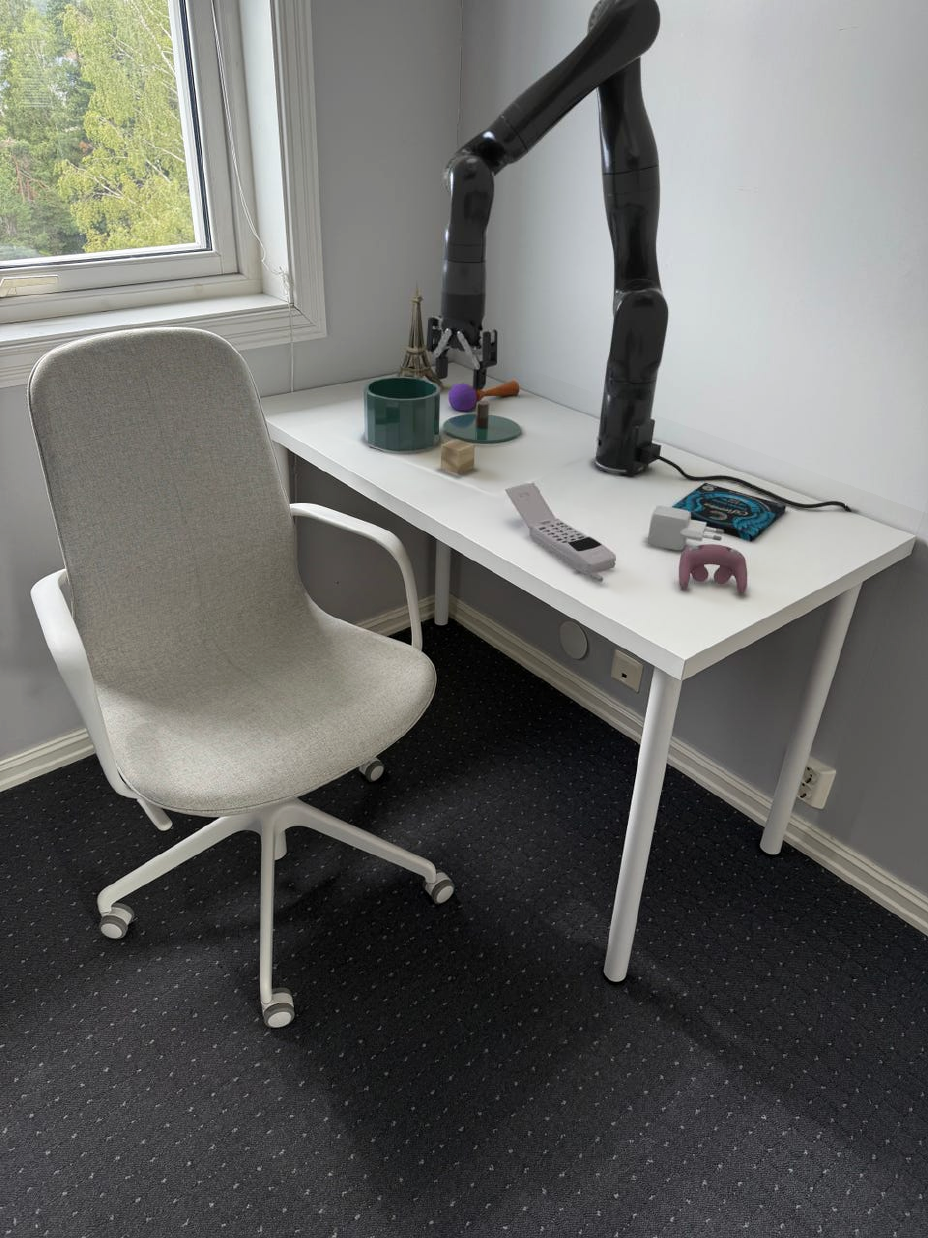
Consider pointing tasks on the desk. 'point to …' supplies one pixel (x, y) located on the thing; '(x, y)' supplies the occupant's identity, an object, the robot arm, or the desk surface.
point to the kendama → (477, 394)
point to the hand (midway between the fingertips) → (459, 383)
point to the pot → (401, 413)
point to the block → (457, 456)
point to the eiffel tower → (417, 348)
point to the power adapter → (677, 528)
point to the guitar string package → (731, 511)
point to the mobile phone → (560, 534)
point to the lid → (481, 426)
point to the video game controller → (716, 555)
